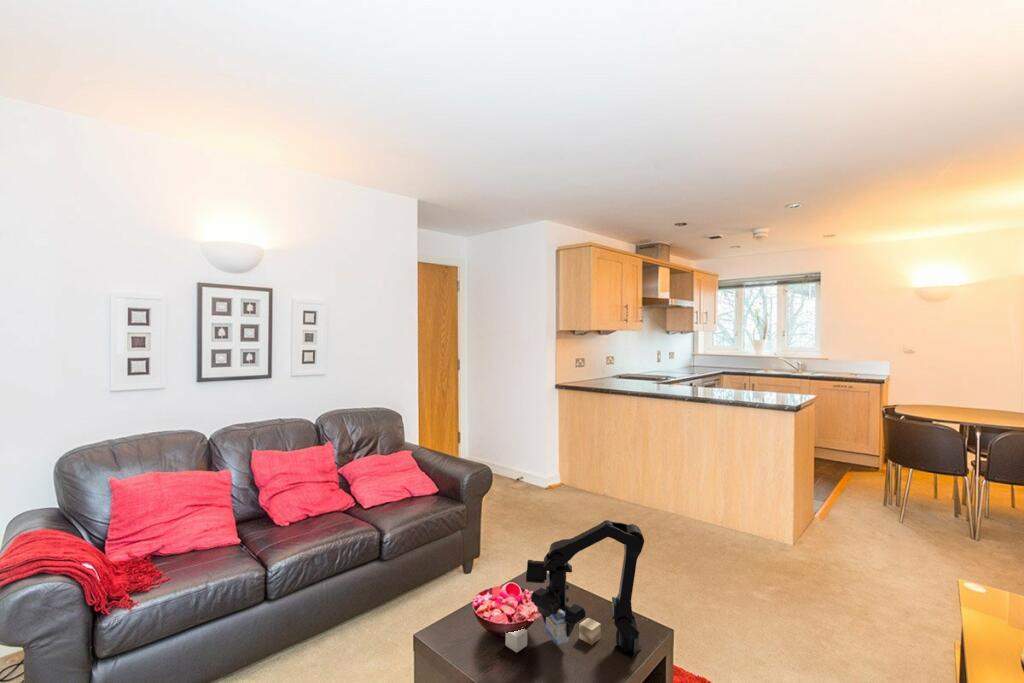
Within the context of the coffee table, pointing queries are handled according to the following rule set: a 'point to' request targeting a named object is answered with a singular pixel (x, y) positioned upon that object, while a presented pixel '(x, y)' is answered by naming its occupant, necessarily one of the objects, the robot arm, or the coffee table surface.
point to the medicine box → (557, 627)
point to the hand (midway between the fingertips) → (557, 630)
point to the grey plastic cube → (516, 640)
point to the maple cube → (589, 631)
